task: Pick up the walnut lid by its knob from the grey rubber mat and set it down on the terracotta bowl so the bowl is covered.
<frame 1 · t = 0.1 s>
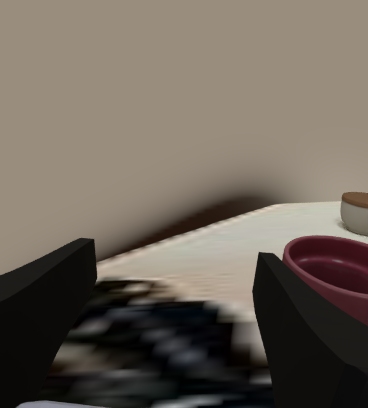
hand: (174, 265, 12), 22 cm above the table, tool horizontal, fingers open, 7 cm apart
lidded bowl: (361, 231, 77), on the table
plant pot: (326, 349, 37), on the table
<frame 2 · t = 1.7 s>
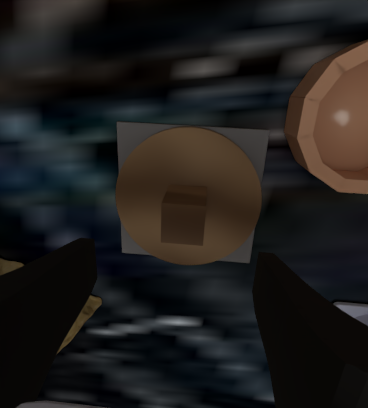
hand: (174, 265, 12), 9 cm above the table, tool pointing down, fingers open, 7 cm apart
bowl: (351, 117, 18), on the table
lid: (188, 197, 20), resting on mat
rock: (37, 280, 25), on the table
mat: (188, 196, 21), on the table
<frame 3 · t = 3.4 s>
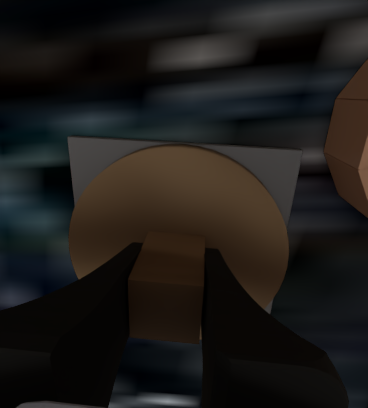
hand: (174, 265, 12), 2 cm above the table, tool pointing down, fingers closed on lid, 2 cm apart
lid: (177, 246, 14), resting on mat, touching gripper
mat: (178, 242, 14), on the table
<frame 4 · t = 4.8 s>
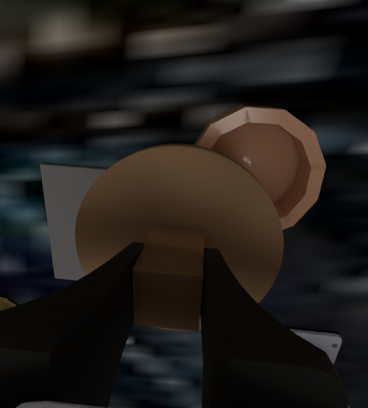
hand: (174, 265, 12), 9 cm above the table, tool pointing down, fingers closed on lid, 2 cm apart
bowl: (247, 165, 20), on the table
lid: (178, 241, 15), point 7 cm above the table, touching gripper
mat: (111, 229, 23), on the table
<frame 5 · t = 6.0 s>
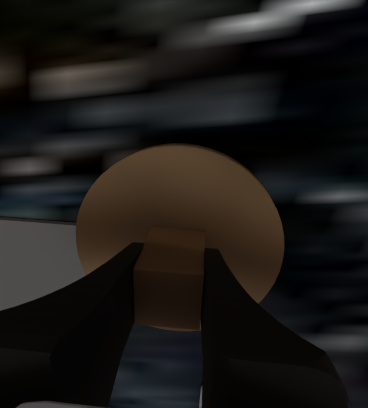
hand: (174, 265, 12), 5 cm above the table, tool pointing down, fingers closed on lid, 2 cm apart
lid: (179, 241, 15), point 3 cm above the table, touching bowl, gripper
mat: (39, 283, 20), on the table
when the fingers open (5 cm above the table, at t = 6.5 s): lid stays where it is, resting on bowl.
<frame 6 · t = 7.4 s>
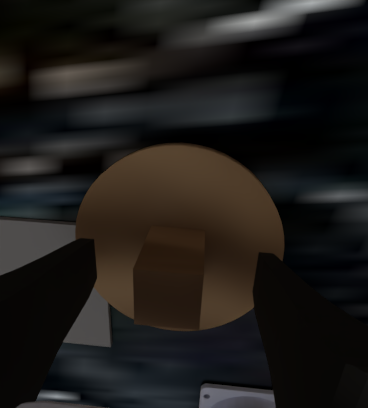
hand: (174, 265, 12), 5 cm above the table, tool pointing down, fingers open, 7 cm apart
lid: (179, 240, 15), point 3 cm above the table, touching bowl
mat: (39, 282, 20), on the table
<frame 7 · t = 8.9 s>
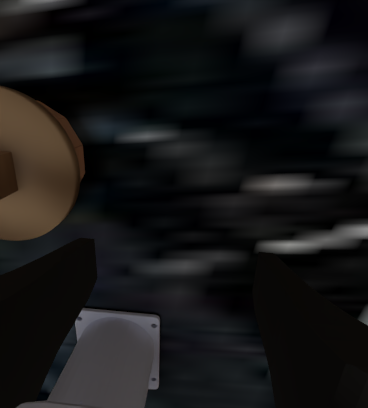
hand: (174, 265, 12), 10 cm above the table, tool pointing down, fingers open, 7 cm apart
bowl: (32, 155, 22), on the table
lid: (6, 166, 19), point 3 cm above the table, touching bowl
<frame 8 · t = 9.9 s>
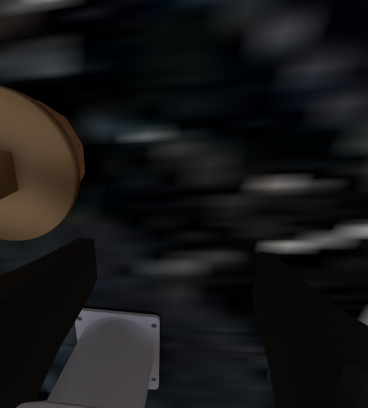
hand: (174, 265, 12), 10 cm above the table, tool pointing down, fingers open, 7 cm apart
bowl: (32, 155, 22), on the table
lid: (6, 166, 19), point 3 cm above the table, touching bowl
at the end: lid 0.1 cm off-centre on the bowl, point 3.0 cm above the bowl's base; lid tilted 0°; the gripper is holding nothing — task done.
